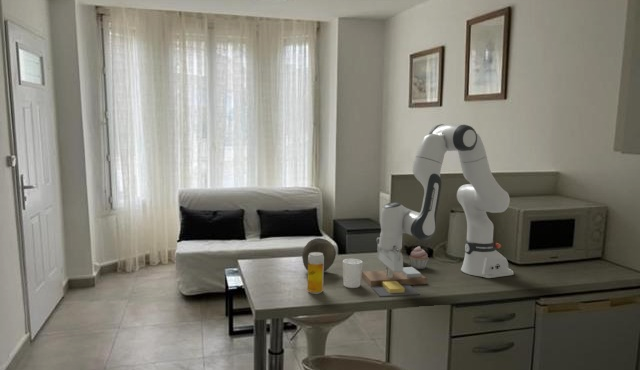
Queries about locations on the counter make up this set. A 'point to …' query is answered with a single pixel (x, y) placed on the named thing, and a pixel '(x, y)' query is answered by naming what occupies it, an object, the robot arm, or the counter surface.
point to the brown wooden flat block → (379, 276)
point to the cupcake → (418, 258)
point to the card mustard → (393, 287)
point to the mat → (384, 293)
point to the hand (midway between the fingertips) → (389, 276)
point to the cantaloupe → (321, 247)
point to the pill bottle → (315, 272)
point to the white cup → (352, 272)
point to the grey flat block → (410, 272)
